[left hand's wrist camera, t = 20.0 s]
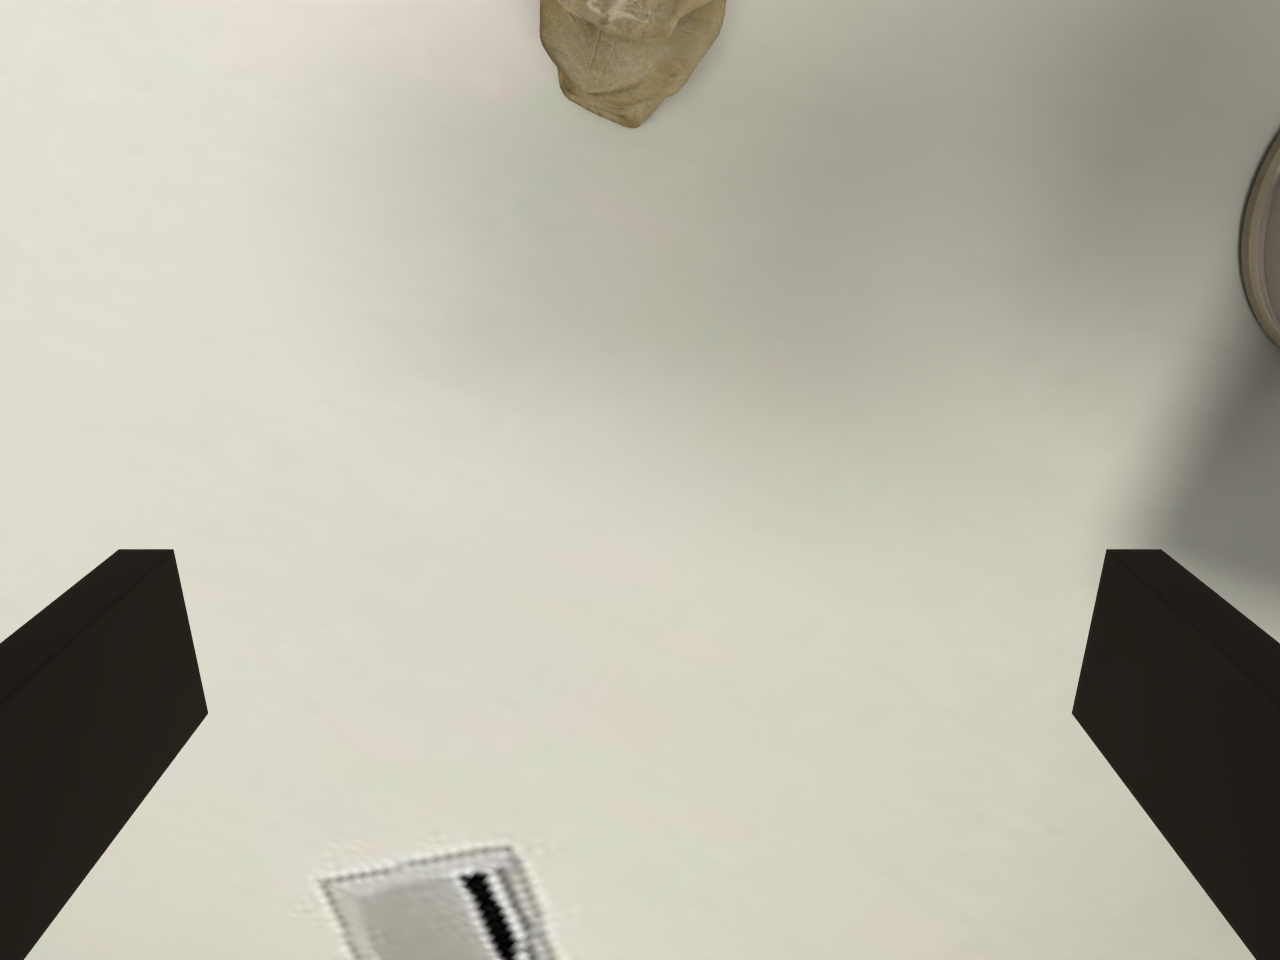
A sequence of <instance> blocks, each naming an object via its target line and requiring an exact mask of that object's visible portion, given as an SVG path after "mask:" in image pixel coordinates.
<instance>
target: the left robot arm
mask: <svg viewBox="0 0 1280 960" xmlns="http://www.w3.org/2000/svg"><path fill="white" fill-rule="evenodd" d="M1241 261H1242V273H1243V279H1244V284H1245V289H1246V293H1247V296H1248V299H1249V302H1250V305H1251V307H1252V309H1253V312H1254V314H1255V316H1256V318H1257V320H1258V322H1259V323H1260V325H1261V327H1262V328H1263V330H1264V331H1265V332H1266V334H1267V335H1268V336H1269V338H1270V339H1271V340H1272V341H1273V342H1274V343H1275V344H1276V345H1277V346H1278V347H1279V348H1280V134H1279V135H1278V137H1277V139H1276V140H1275V142H1274V144H1273V145H1272V147H1271V148H1270V150H1269V152H1268V154H1267V156H1266V158H1265V160H1264V162H1263V164H1262V166H1261V168H1260V171H1259V173H1258V176H1257V178H1256V181H1255V183H1254V186H1253V189H1252V192H1251V195H1250V198H1249V201H1248V205H1247V210H1246V214H1245V219H1244V225H1243V232H1242V245H1241ZM207 714H208V710H207V706H206V701H205V696H204V691H203V687H202V682H201V677H200V673H199V668H198V663H197V658H196V654H195V649H194V644H193V640H192V635H191V630H190V625H189V621H188V616H187V611H186V606H185V602H184V597H183V592H182V588H181V583H180V578H179V573H178V569H177V564H176V559H175V554H174V550H173V549H119V550H118V551H116V552H115V553H114V554H113V555H111V556H110V557H109V558H108V559H106V560H105V561H104V562H102V563H101V564H100V565H99V566H97V567H96V568H95V569H94V570H92V571H91V572H90V573H89V574H87V575H86V576H85V577H84V578H82V579H81V580H80V581H79V582H77V583H76V584H75V585H73V586H72V587H71V588H70V589H68V590H67V591H66V592H65V593H63V594H62V595H61V596H60V597H58V598H57V599H56V600H55V601H53V602H52V603H51V604H49V605H48V606H47V607H46V608H44V609H43V610H42V611H41V612H39V613H38V614H37V615H36V616H34V617H33V618H32V619H31V620H29V621H28V622H27V623H26V624H24V625H23V626H22V627H20V628H19V629H18V630H17V631H15V632H14V633H13V634H12V635H10V636H9V637H8V638H7V639H5V640H4V641H3V642H2V643H0V960H24V959H25V957H26V956H27V955H28V953H29V952H30V951H31V949H32V948H33V947H34V945H35V944H36V943H37V941H38V940H39V939H40V937H41V936H42V935H43V933H44V932H45V931H46V929H47V928H48V927H49V925H50V924H51V923H52V921H53V920H54V919H55V917H56V916H57V915H58V913H59V912H60V911H61V909H62V908H63V907H64V905H65V904H66V903H67V901H68V900H69V899H70V897H71V896H72V895H73V893H74V892H75V891H76V889H77V888H78V887H79V885H80V884H81V883H82V881H83V880H84V879H85V877H86V876H87V874H88V873H89V872H90V870H91V869H92V868H93V866H94V865H95V864H96V862H97V861H98V860H99V858H100V857H101V856H102V854H103V853H104V852H105V850H106V849H107V848H108V846H109V845H110V844H111V842H112V841H113V840H114V838H115V837H116V836H117V834H118V833H119V832H120V830H121V829H122V828H123V826H124V825H125V824H126V822H127V821H128V820H129V818H130V817H131V816H132V814H133V813H134V812H135V810H136V809H137V808H138V806H139V805H140V804H141V802H142V801H143V800H144V798H145V797H146V796H147V794H148V793H149V792H150V790H151V789H152V788H153V786H154V785H155V784H156V782H157V781H158V780H159V778H160V777H161V776H162V774H163V773H164V772H165V770H166V769H167V768H168V766H169V765H170V764H171V762H172V761H173V760H174V758H175V757H176V756H177V754H178V753H179V752H180V750H181V749H182V748H183V746H184V745H185V744H186V742H187V741H188V740H189V738H190V737H191V736H192V734H193V733H194V732H195V730H196V729H197V728H198V726H199V725H200V724H201V722H202V721H203V720H204V718H205V717H206V716H207ZM1072 714H1073V716H1074V717H1075V718H1076V720H1077V721H1078V722H1079V724H1080V725H1081V726H1082V728H1083V729H1084V730H1085V732H1086V733H1087V734H1088V736H1089V737H1090V738H1091V740H1092V741H1093V742H1094V744H1095V745H1096V746H1097V748H1098V749H1099V750H1100V752H1101V753H1102V754H1103V756H1104V757H1105V758H1106V760H1107V761H1108V762H1109V764H1110V765H1111V766H1112V768H1113V769H1114V770H1115V772H1116V773H1117V774H1118V776H1119V777H1120V778H1121V780H1122V781H1123V782H1124V784H1125V785H1126V786H1127V788H1128V789H1129V790H1130V792H1131V793H1132V794H1133V796H1134V797H1135V798H1136V800H1137V801H1138V802H1139V804H1140V805H1141V806H1142V808H1143V809H1144V810H1145V812H1146V813H1147V814H1148V816H1149V817H1150V818H1151V820H1152V821H1153V822H1154V824H1155V825H1156V826H1157V828H1158V829H1159V830H1160V832H1161V833H1162V834H1163V836H1164V837H1165V838H1166V840H1167V841H1168V842H1169V844H1170V845H1171V846H1172V848H1173V849H1174V850H1175V852H1176V853H1177V854H1178V856H1179V857H1180V858H1181V860H1182V861H1183V862H1184V864H1185V865H1186V866H1187V868H1188V869H1189V870H1190V872H1191V873H1192V874H1193V876H1194V877H1195V879H1196V880H1197V881H1198V883H1199V884H1200V885H1201V887H1202V888H1203V889H1204V891H1205V892H1206V893H1207V895H1208V896H1209V897H1210V899H1211V900H1212V901H1213V903H1214V904H1215V905H1216V907H1217V908H1218V909H1219V911H1220V912H1221V913H1222V915H1223V916H1224V917H1225V919H1226V920H1227V921H1228V923H1229V924H1230V925H1231V927H1232V928H1233V929H1234V931H1235V932H1236V933H1237V935H1238V936H1239V937H1240V939H1241V940H1242V941H1243V943H1244V944H1245V945H1246V947H1247V948H1248V949H1249V951H1250V952H1251V953H1252V955H1253V956H1254V957H1255V959H1256V960H1280V643H1278V642H1277V641H1276V640H1275V639H1273V638H1272V637H1271V636H1270V635H1268V634H1267V633H1266V632H1265V631H1263V630H1262V629H1261V628H1260V627H1258V626H1257V625H1256V624H1254V623H1253V622H1252V621H1251V620H1249V619H1248V618H1247V617H1246V616H1244V615H1243V614H1242V613H1241V612H1239V611H1238V610H1237V609H1236V608H1234V607H1233V606H1232V605H1231V604H1229V603H1228V602H1227V601H1225V600H1224V599H1223V598H1222V597H1220V596H1219V595H1218V594H1217V593H1215V592H1214V591H1213V590H1212V589H1210V588H1209V587H1208V586H1207V585H1205V584H1204V583H1203V582H1201V581H1200V580H1199V579H1198V578H1196V577H1195V576H1194V575H1193V574H1191V573H1190V572H1189V571H1188V570H1186V569H1185V568H1184V567H1183V566H1181V565H1180V564H1179V563H1178V562H1176V561H1175V560H1174V559H1172V558H1171V557H1170V556H1169V555H1167V554H1166V553H1165V552H1164V551H1162V550H1161V549H1107V550H1106V554H1105V559H1104V564H1103V569H1102V573H1101V578H1100V583H1099V588H1098V592H1097V597H1096V602H1095V606H1094V611H1093V616H1092V621H1091V625H1090V630H1089V635H1088V640H1087V644H1086V649H1085V654H1084V658H1083V663H1082V668H1081V673H1080V677H1079V682H1078V687H1077V691H1076V696H1075V701H1074V706H1073V710H1072Z"/></svg>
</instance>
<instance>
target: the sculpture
mask: <svg viewBox="0 0 1280 960" xmlns="http://www.w3.org/2000/svg"><path fill="white" fill-rule="evenodd" d="M725 3H726V0H540V38H541V42H542V45H543V47H544V48H545V50H546V52H547V53H548V55H549V57H550V58H551V60H552V61H553V62H554V63H555V65H556V66H557V67H558V75H559V83H560V87H561V90H562V92H563V94H564V95H565V96H566V97H567V98H568V99H569V100H571V101H573V102H574V103H576V104H578V105H580V106H582V107H583V108H585V109H587V110H589V111H591V112H593V113H595V114H597V115H599V116H601V117H604V118H606V119H608V120H611V121H613V122H616V123H618V124H620V125H623V126H625V127H629V128H636V127H639V126H640V125H641V124H642V123H644V122H645V121H646V120H647V119H648V118H649V116H650V115H651V114H652V113H653V112H654V111H655V110H656V109H657V108H658V107H659V105H660V104H661V103H662V101H663V100H664V99H665V98H666V97H669V96H672V95H674V94H675V93H677V92H678V91H679V90H680V88H681V87H682V86H683V85H684V84H685V83H686V82H687V80H688V78H689V77H690V75H691V73H692V72H693V70H694V69H695V67H696V65H697V64H698V63H699V61H700V60H701V59H702V57H703V56H704V55H705V53H706V52H707V51H708V49H709V48H710V47H711V45H712V44H713V42H714V41H715V39H716V38H717V36H718V34H719V32H720V30H721V27H722V24H723V20H724V15H725Z"/></svg>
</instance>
